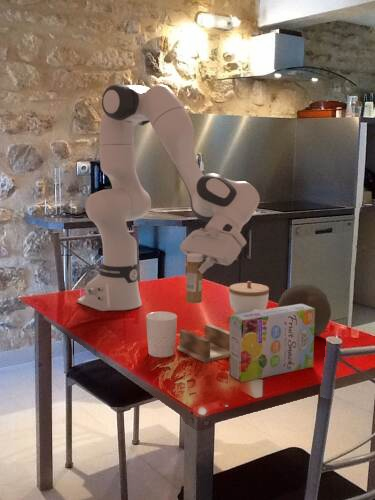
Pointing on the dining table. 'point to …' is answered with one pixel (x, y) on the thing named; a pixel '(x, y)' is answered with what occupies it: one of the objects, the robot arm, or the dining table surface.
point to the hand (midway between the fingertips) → (192, 270)
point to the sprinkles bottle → (194, 278)
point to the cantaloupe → (309, 303)
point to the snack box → (271, 341)
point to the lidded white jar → (248, 297)
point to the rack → (206, 344)
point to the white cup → (161, 333)
